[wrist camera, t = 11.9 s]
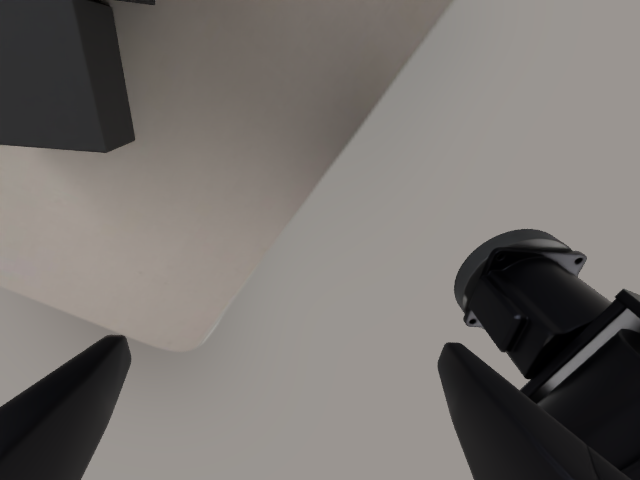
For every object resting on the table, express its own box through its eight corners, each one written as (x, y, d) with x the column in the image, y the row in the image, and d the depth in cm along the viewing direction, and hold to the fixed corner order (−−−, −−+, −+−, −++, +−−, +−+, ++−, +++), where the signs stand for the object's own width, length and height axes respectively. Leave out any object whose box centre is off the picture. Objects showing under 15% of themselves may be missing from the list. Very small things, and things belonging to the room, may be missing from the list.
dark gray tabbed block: (99, -69, 13) (50, -103, 11) (135, 140, 17) (106, 153, 15) (-60, -92, 13) (-153, -134, 10) (17, 130, 17) (-36, 142, 14)
